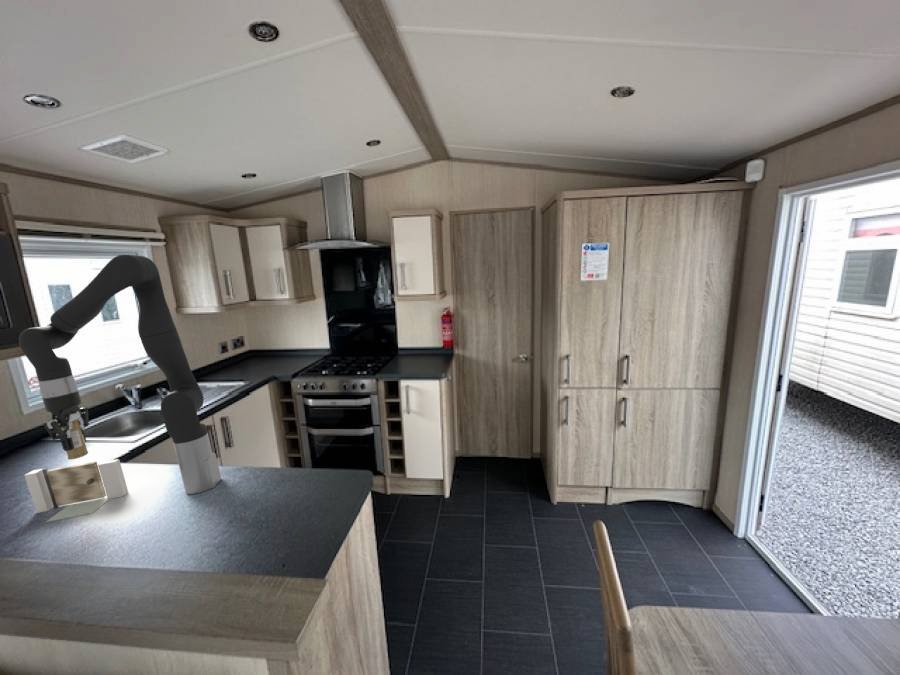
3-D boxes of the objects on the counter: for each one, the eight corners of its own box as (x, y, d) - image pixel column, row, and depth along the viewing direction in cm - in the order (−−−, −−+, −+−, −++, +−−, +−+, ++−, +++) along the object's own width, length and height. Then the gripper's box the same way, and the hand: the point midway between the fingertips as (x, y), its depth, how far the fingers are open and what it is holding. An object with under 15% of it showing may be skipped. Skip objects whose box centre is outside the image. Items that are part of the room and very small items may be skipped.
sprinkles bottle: (91, 451, 116) (80, 410, 114) (83, 457, 112) (71, 415, 110) (72, 455, 115) (60, 414, 113) (64, 461, 111) (51, 419, 108)
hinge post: (55, 505, 120) (44, 468, 118) (47, 511, 117) (35, 473, 115) (44, 507, 120) (33, 470, 117) (36, 513, 117) (24, 475, 114)
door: (106, 496, 122) (96, 460, 120) (101, 501, 119) (90, 463, 117) (56, 506, 119) (44, 469, 117) (49, 510, 117) (37, 472, 115)
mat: (110, 498, 121) (110, 497, 121) (92, 513, 113) (92, 512, 113) (68, 506, 119) (68, 505, 118) (46, 522, 111) (46, 521, 111)
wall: (128, 492, 123) (119, 459, 121) (124, 495, 121) (114, 461, 119) (112, 495, 122) (102, 461, 120) (107, 499, 120) (97, 464, 118)
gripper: (55, 397, 104) (72, 454, 107) (92, 384, 118) (105, 435, 121) (23, 402, 103) (41, 459, 105) (64, 388, 116) (78, 439, 119)
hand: (75, 446), depth 113 cm, fingers closed on sprinkles bottle, 4 cm apart
